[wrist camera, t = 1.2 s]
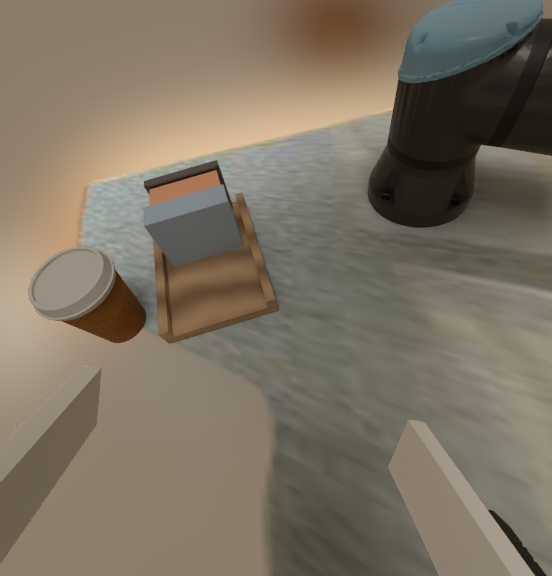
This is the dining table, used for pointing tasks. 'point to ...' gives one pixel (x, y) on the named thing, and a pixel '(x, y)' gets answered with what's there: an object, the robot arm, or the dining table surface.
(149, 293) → the dining table surface
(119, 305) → the disposable coffee cup
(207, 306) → the wooden serving tray
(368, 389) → the dining table surface
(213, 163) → the bookend
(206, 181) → the books
